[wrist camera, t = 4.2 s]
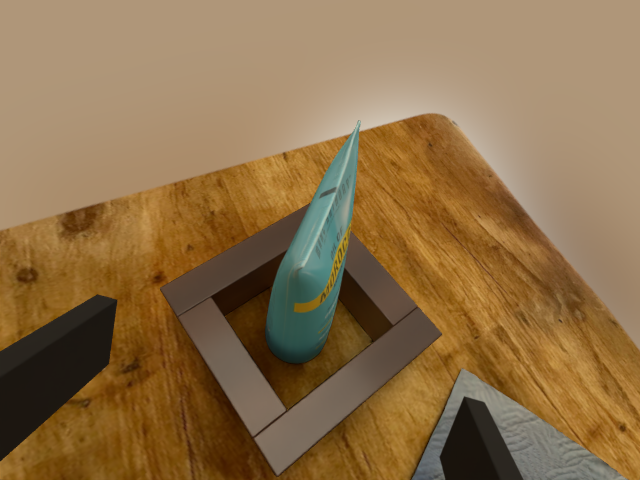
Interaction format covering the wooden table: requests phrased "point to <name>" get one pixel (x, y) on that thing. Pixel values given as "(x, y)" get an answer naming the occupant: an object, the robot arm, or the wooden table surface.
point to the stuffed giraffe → (516, 439)
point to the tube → (314, 265)
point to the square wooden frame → (243, 373)
